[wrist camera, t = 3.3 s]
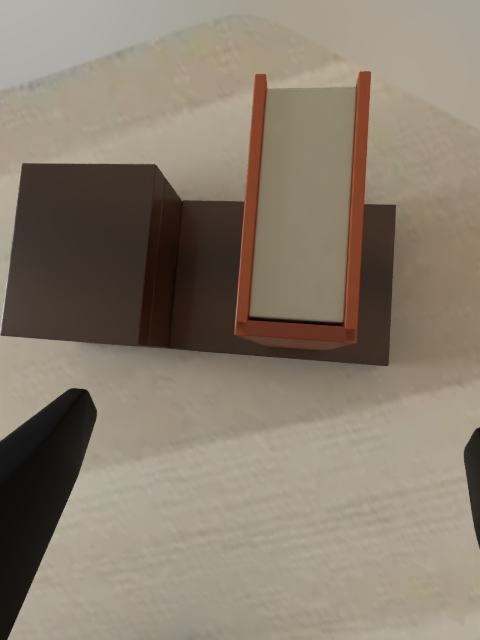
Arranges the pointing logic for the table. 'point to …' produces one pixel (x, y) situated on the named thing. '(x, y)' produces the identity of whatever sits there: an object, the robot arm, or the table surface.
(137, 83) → the table surface
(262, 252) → the book
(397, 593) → the table surface
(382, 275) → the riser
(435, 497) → the table surface
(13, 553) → the robot arm
